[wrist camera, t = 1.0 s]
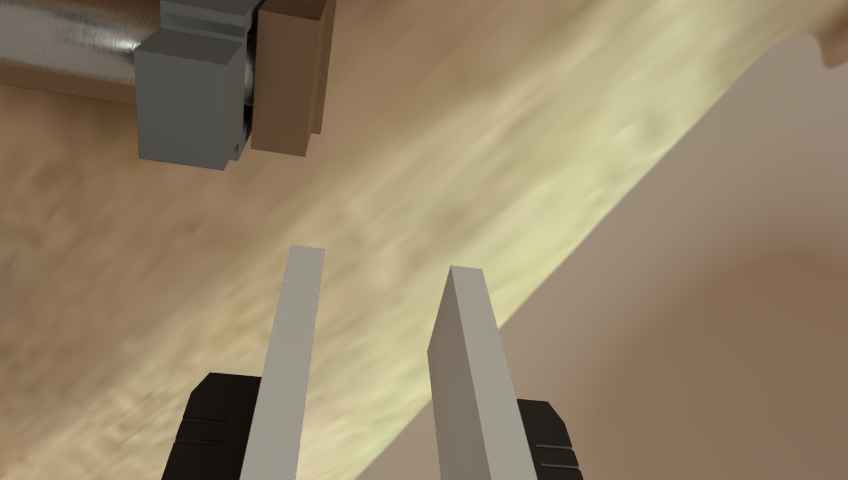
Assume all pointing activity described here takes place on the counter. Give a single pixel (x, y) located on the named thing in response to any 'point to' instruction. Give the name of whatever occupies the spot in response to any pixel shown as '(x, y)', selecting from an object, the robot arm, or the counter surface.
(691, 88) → the counter surface
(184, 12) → the collar
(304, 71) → the pipe rig
